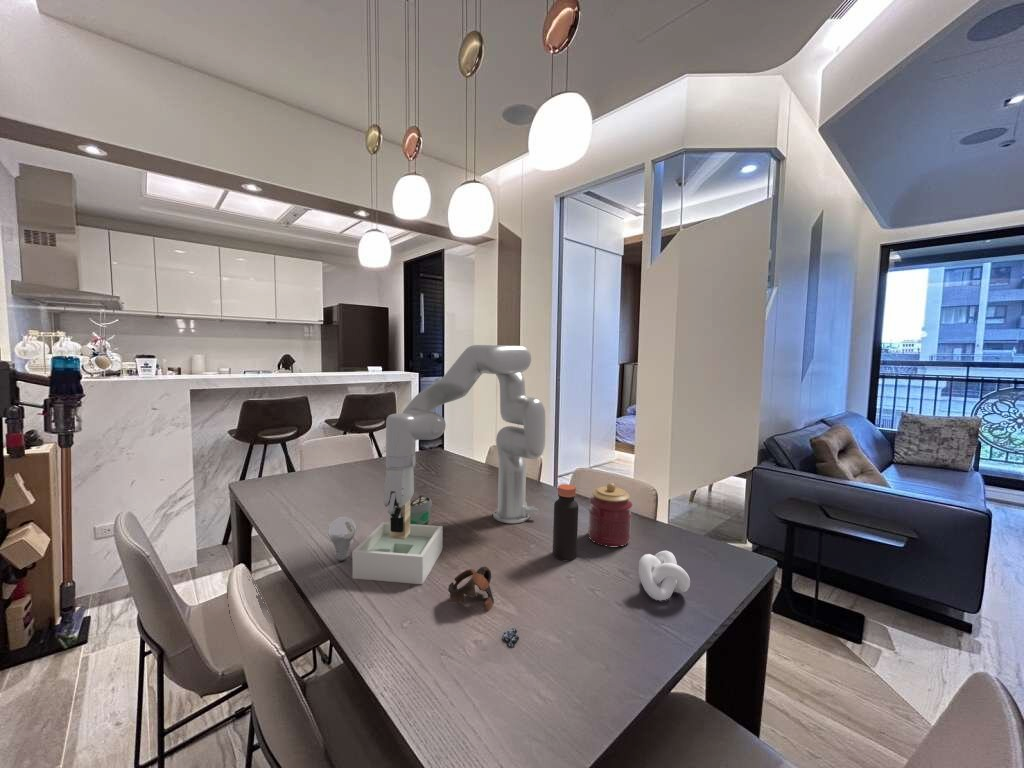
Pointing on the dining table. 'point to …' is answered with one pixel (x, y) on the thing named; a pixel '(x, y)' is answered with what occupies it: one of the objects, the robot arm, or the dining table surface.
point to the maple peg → (405, 523)
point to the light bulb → (342, 536)
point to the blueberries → (511, 637)
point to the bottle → (565, 523)
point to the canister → (610, 516)
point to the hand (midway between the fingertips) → (400, 527)
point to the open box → (397, 557)
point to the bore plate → (401, 544)
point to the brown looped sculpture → (472, 586)
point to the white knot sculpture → (662, 575)
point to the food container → (420, 510)
